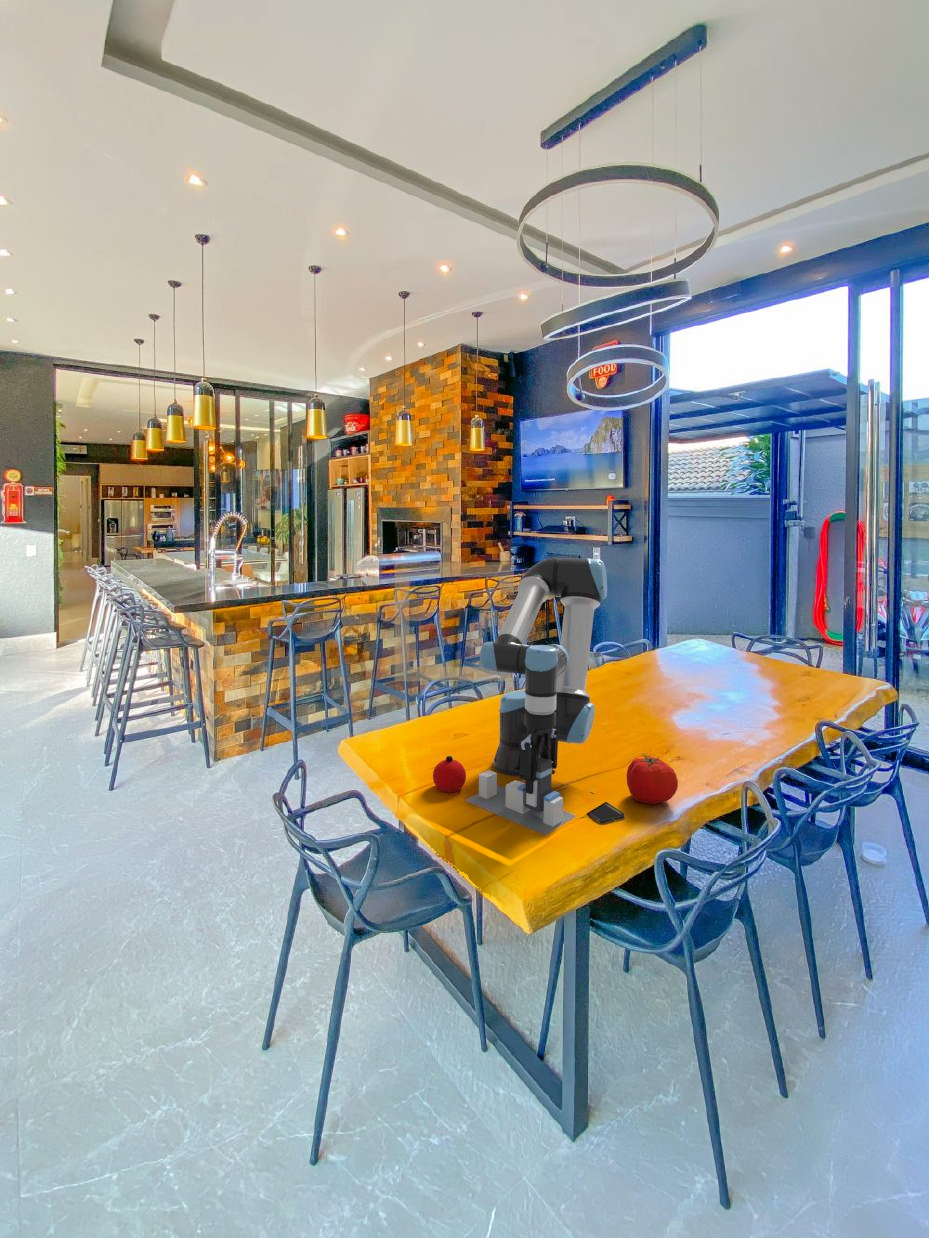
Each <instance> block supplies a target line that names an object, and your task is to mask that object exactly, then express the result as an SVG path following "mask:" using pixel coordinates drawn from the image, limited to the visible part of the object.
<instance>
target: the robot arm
mask: <svg viewBox="0 0 929 1238" xmlns="http://www.w3.org/2000/svg"><path fill="white" fill-rule="evenodd" d="M605 566H606V565H605V563H604V561H602V560H601V559H598V558H589V557H586V558H577V557H576V558H574V557H549V558H545V559H543V560H540V561H539V562H537V563H536V564H534V565H532V566H531V567H530V568H529V569H528V570H527V571H526V572H525V573H524V574H523V575H522V577H521V578H520V580H519V583H518V585H517V592H518V593H517V595H516V597H515V599H514V601H513V603H512V605H511V607H510V610H509V611H508V614H507V616H506V618H505V620H504V622H503V625H502V627H501V629H500V631H499V633H498V635H497V637H496V639H495V641H486V642H484V643H483V644H482V646H481V648H480V651H479V662H480V666H481V669H484V670H485V671H491V672H495V673H509V674H521V675H524V678H525V679H524V685H525V686H524V689H519V690H514V691H509V692H507V693H505V694H503V696H502V697H501V698H500V702H499V711H498V712H499V744H498V746H497V749H496V752H495V756H494V759H493V762H492V763H493V768H494V769H495V771H497V773H498V772H499V773H500V774H503V775H505V776H506V775H507V776H512V777H519V779H520V780H523V781H525V782H526V804H528V805H531V806H533V807H536V806H537V780H535V778H536V772H537V765H538V759H539V756H540V757H542V758H545V759H549V760H552V775H555V773H556V769H557V767H558V751H559V749H558V748H559V742H562V743H566V744H584V743H585V742H586V741H587V740H588V738H589V736H590V733H591V730H592V728H593V725H594V724H593V723H594V720H595V710H596V707H595V704H594V703H593V702H591V696H590V695H589V694H588V693H587V691H586V688H587V678H588V672H589V671H588V668H589V659H590V652H591V650H590V649H591V643H592V641H591V640H592V634H593V633H592V632H593V623H594V615H595V610H596V609H597V608H599V607H600V606H601V600H604V599H605V600H606V599H607V598H608V597H607V596H608V595H607V594H608V579H607V577H608V576H607V570H606V567H605ZM549 597H559V598H560V603H561V604H562V605H563V607H564V610H563V619H562V627H561V638H560V644H557V643H552V644H546V645H545V644H536V645H531V644H530V645H529V644H526V642H527V639H528V637H529V635H530V632H531V630H532V628H533V625H534V623H535V621H536V619H537V616H538V613H539V611H540V609H541V607H542V605H543V603H544V602H546V601H547V600H548V598H549Z"/></svg>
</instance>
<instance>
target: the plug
mask: <svg viewBox="0 0 929 1238" xmlns="http://www.w3.org/2000/svg"><path fill="white" fill-rule="evenodd" d="M552 763H553V762H552V760H549V759H545V758H542V757H540V756H539V759H538V765H537V772H536V778H535V780H537V806H536V807H533V806H531V805H528V804H526V781H525V782H524V783H525V807H526V808H529V809H531V810H534V811H536V812H539V813H540V812H542V811H544V796H546V795H548V794H550V793H552V778H553V777H552V775H553V774H552Z"/></svg>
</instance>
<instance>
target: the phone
mask: <svg viewBox="0 0 929 1238" xmlns="http://www.w3.org/2000/svg"><path fill="white" fill-rule="evenodd" d="M588 793H589V794H592V795H595V793H594V792H593V791H592V792H591V791H588ZM586 815H588V816H589V817H590V818H591V819H593V820H594V821H596V823H599V824H608V823H611V822H616V821H620V820H623V819H625V813H624V812H622V810H619V809H618V808H617V807H615V806H613V805H612V804H610V803H609V802H607V801H605V802H602V803H601V804H600V805H598V806H597V807H595V808H593V809H592V810H590V811H588V812H587V813H586Z"/></svg>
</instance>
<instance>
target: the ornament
mask: <svg viewBox="0 0 929 1238" xmlns="http://www.w3.org/2000/svg"><path fill="white" fill-rule="evenodd" d="M466 779H467V772H466V770H465V767H464V766H463V764H462V763H461V762H460V761H458V760H456V759H454V758H453V756H452V755H448V756H446V757H445V759H442V760H440V761H439V762H438V763H437V764H436V766H435V767H434V769H433V772H432V780H433V783H434V785H435V787H436V788H437V789H438V790H439V791H440V792H443V793H448V794H449V793H457V792H458V791H460V790H461V789H462V788H463V786H464V785H465V782H466Z"/></svg>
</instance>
